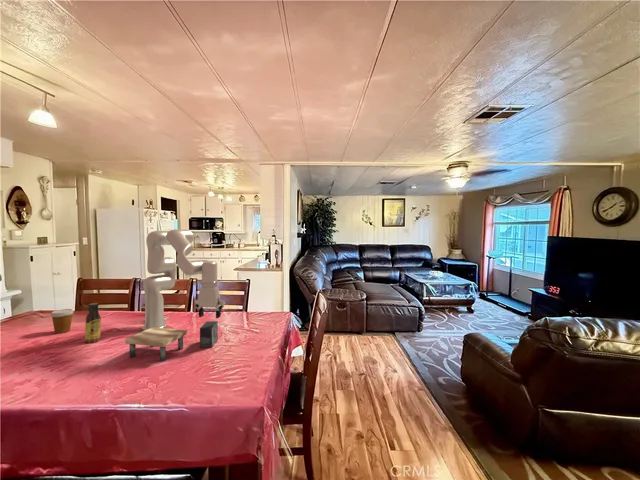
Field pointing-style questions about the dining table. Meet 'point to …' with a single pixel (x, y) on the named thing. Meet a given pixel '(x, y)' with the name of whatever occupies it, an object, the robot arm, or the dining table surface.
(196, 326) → the dining table surface
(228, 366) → the dining table surface
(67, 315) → the disposable coffee cup
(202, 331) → the small box
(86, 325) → the sauce bottle
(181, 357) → the dining table surface
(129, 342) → the peg shelf
